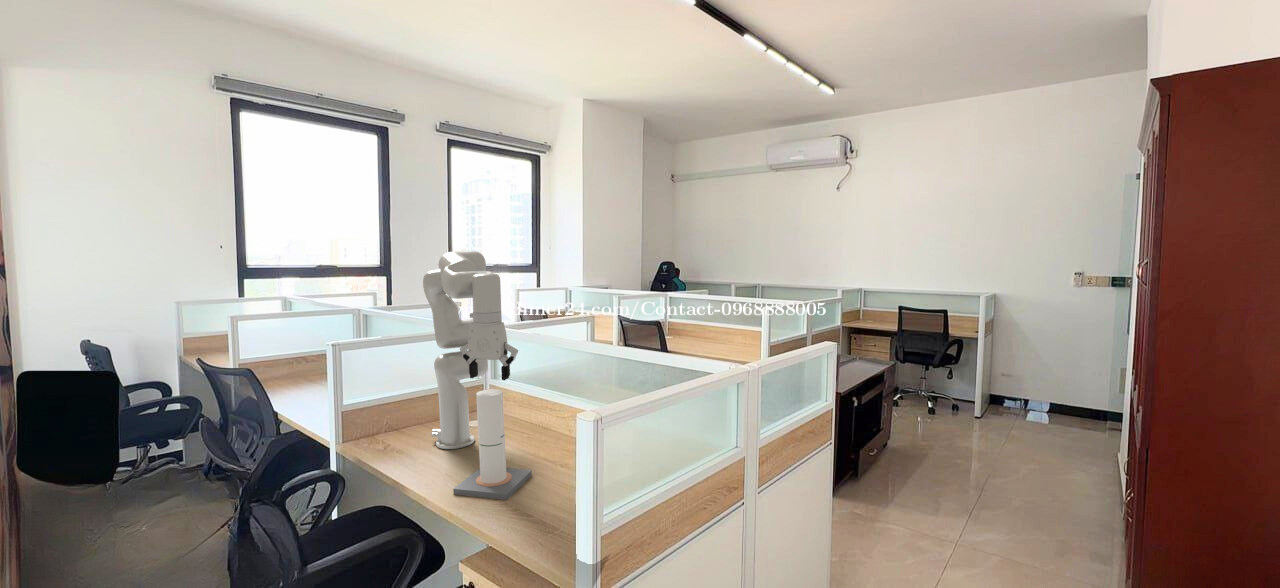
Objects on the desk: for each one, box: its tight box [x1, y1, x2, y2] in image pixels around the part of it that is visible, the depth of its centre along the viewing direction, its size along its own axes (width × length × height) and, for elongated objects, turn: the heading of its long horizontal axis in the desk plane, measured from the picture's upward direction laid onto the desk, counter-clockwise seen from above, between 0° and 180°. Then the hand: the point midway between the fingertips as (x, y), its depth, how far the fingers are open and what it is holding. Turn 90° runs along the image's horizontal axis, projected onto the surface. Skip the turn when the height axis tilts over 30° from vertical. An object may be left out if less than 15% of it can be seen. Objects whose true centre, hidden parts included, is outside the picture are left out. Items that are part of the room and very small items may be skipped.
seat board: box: [452, 467, 533, 501], centre depth 157 cm, size 16×16×2 cm
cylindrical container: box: [475, 388, 507, 483], centre depth 156 cm, size 7×7×25 cm
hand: (489, 378), depth 155 cm, fingers open, 9 cm apart
